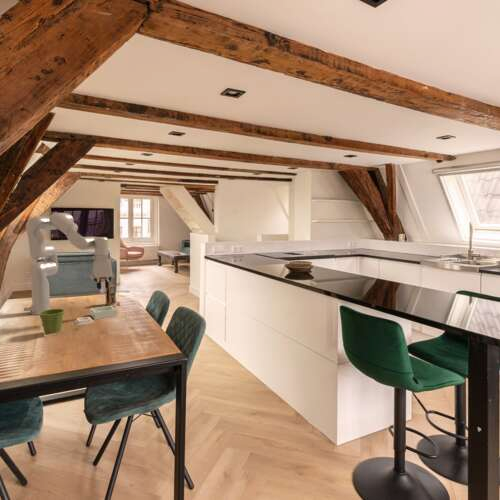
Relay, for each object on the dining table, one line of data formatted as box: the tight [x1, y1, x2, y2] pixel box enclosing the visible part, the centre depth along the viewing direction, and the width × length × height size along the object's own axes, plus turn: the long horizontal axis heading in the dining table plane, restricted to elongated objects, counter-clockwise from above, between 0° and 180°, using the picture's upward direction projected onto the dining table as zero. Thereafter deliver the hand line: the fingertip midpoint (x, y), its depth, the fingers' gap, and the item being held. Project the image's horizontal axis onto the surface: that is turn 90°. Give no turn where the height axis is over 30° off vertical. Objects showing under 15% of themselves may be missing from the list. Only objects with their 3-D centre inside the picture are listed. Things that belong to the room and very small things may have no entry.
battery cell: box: [99, 277, 106, 294], centre depth 215 cm, size 4×4×10 cm
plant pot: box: [38, 308, 66, 336], centre depth 185 cm, size 12×12×11 cm
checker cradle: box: [73, 316, 95, 326], centre depth 203 cm, size 9×9×2 cm
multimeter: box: [104, 278, 121, 308], centre depth 247 cm, size 15×10×20 cm
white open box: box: [89, 305, 117, 320], centre depth 216 cm, size 12×12×5 cm
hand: (102, 288), depth 215 cm, fingers closed on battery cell, 3 cm apart
